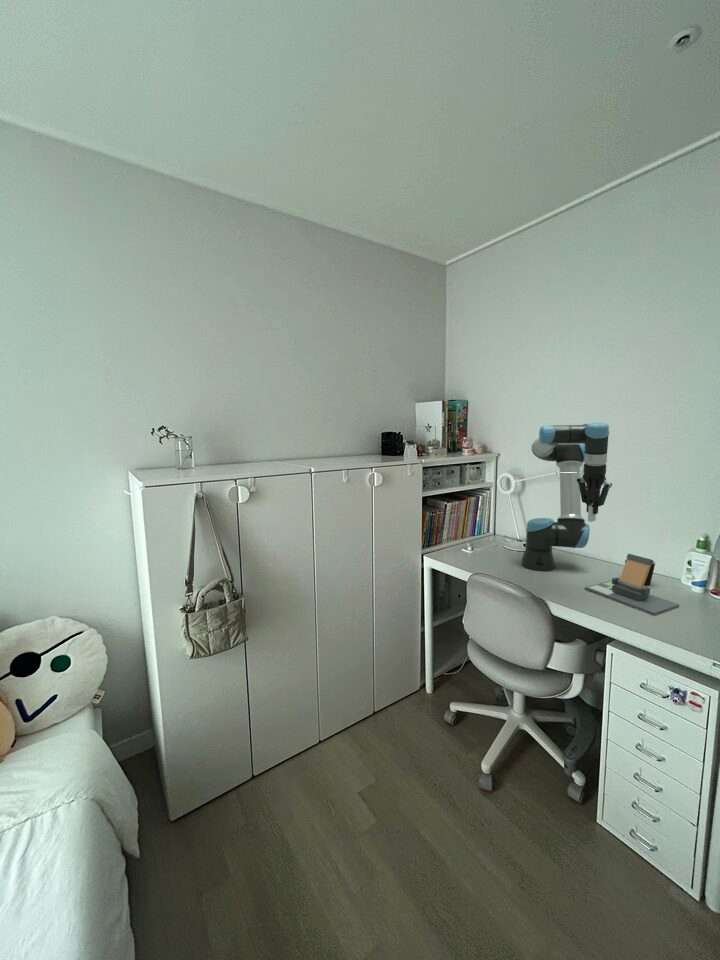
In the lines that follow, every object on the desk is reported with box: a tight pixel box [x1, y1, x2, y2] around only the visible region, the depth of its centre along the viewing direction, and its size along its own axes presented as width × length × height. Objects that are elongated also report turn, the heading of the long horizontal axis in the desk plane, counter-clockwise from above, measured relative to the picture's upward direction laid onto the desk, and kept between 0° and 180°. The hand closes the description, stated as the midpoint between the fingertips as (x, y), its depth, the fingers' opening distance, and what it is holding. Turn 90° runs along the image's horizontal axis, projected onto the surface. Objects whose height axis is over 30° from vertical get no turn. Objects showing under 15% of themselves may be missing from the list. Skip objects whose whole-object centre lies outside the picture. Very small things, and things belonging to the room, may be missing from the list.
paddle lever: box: [617, 553, 655, 591], centre depth 152 cm, size 9×2×13 cm, turn 25°
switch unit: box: [584, 577, 680, 616], centre depth 152 cm, size 26×16×6 cm, turn 25°
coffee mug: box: [624, 558, 656, 587], centre depth 168 cm, size 12×9×10 cm
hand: (591, 520), depth 155 cm, fingers closed
